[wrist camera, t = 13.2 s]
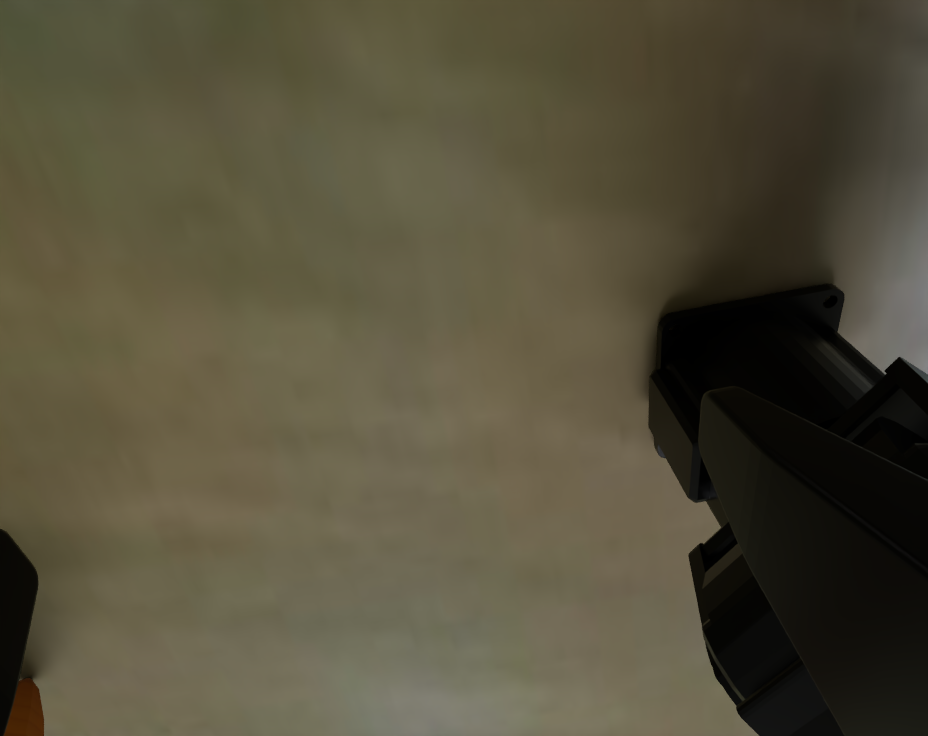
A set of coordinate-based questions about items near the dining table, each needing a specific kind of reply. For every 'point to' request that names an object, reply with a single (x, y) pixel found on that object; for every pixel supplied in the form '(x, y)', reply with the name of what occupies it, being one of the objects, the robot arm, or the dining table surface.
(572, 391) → the dining table surface
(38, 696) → the carrot
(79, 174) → the dining table surface
